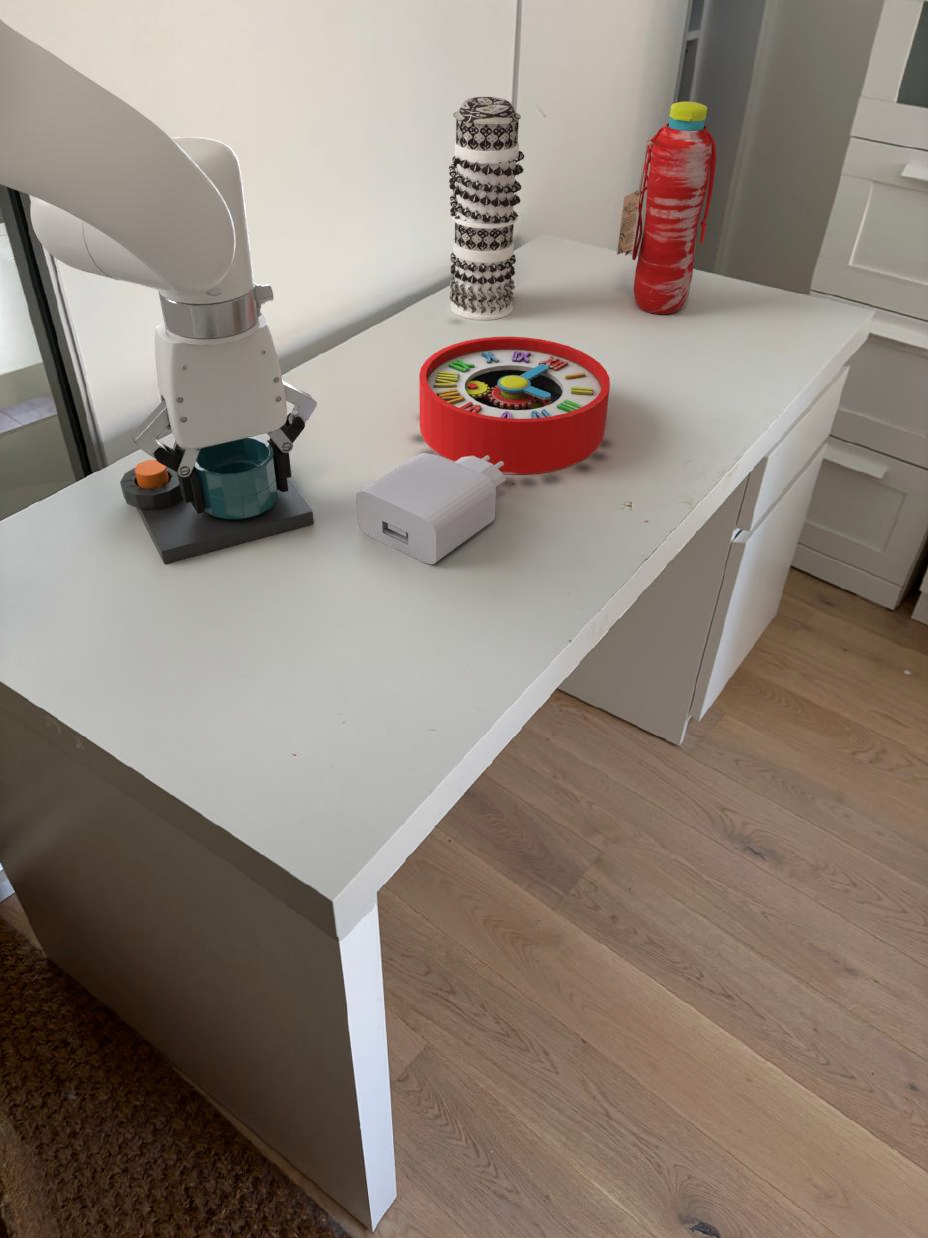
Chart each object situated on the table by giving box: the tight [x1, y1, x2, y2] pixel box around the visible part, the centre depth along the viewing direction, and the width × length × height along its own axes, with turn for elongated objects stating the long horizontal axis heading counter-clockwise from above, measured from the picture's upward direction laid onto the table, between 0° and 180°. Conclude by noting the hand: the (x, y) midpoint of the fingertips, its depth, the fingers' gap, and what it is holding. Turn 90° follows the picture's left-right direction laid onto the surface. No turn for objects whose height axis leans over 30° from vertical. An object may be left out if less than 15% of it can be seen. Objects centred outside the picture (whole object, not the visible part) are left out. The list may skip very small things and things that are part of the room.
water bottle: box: [616, 101, 717, 315], centre depth 124 cm, size 12×8×25 cm, turn 62°
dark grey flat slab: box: [119, 467, 315, 565], centre depth 90 cm, size 15×12×3 cm
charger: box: [355, 452, 507, 565], centre depth 90 cm, size 5×9×15 cm
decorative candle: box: [448, 96, 525, 321], centre depth 122 cm, size 9×9×25 cm
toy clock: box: [418, 336, 611, 475], centre depth 103 cm, size 20×6×20 cm
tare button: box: [134, 459, 169, 488], centre depth 89 cm, size 3×3×2 cm
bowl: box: [194, 436, 279, 520], centre depth 88 cm, size 7×7×5 cm
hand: (238, 494), depth 89 cm, fingers closed on bowl, 7 cm apart
